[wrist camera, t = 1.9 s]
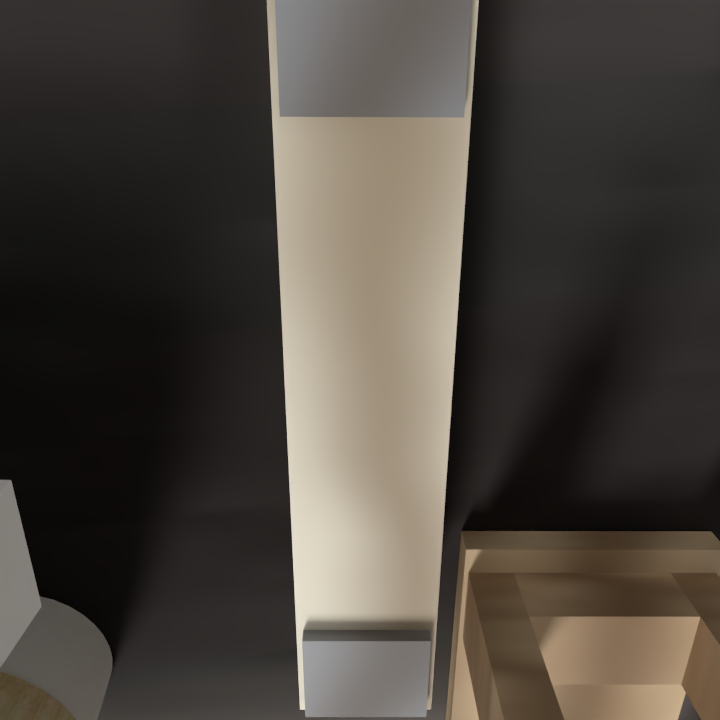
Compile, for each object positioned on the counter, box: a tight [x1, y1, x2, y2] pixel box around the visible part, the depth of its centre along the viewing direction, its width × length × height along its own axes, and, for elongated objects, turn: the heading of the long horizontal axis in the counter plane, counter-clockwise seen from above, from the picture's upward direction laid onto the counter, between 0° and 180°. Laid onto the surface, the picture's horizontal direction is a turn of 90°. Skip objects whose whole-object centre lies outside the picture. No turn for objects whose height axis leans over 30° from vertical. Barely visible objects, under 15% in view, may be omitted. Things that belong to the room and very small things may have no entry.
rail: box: [267, 0, 479, 717], centre depth 17 cm, size 4×20×5 cm, turn 0°
